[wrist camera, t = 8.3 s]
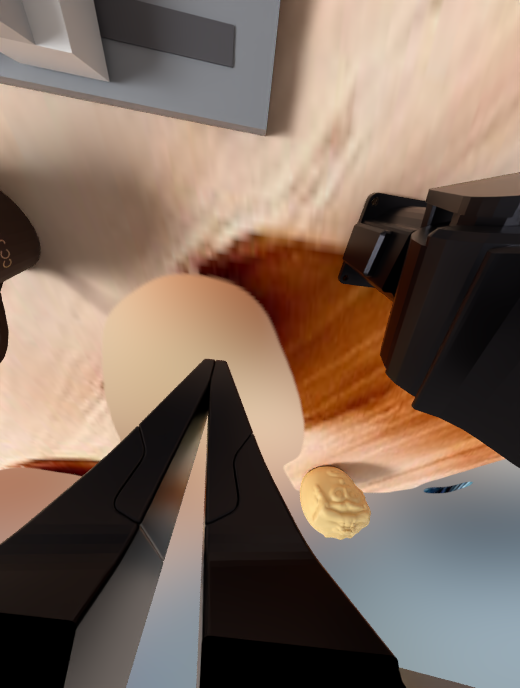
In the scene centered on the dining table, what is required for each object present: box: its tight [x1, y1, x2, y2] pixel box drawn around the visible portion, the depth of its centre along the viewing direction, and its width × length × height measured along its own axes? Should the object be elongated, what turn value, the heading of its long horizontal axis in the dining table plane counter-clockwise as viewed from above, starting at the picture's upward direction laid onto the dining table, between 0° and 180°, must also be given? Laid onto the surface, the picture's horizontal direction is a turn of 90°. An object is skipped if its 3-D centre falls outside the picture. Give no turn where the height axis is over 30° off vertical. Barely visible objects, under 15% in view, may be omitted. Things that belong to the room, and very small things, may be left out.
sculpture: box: [300, 466, 371, 540], centre depth 40 cm, size 11×12×11 cm
